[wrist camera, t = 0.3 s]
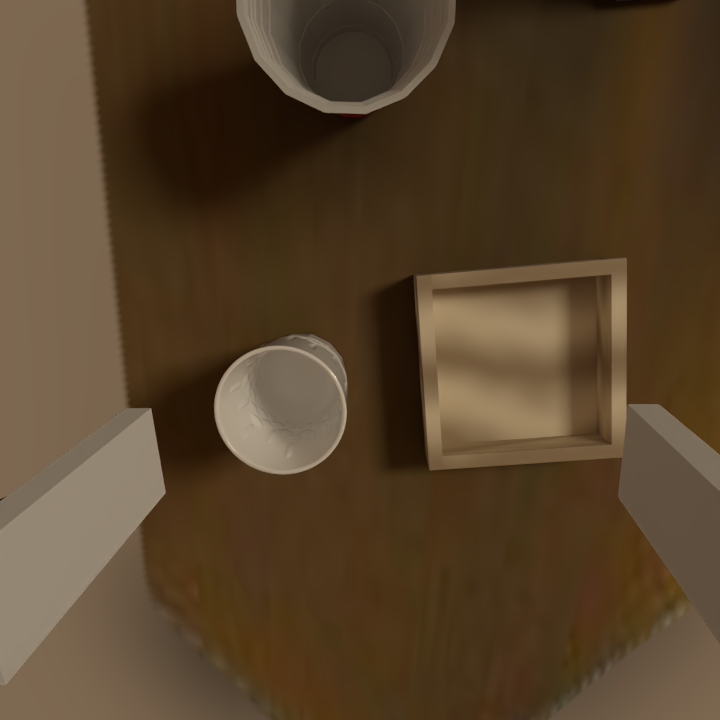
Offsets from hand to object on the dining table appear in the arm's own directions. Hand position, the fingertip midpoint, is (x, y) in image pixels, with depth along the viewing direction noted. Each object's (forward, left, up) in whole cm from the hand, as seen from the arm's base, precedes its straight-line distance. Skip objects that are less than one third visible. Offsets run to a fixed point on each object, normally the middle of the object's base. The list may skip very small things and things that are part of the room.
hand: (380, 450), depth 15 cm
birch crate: (+3, +10, -26) cm, 28 cm away
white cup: (+3, -6, -26) cm, 27 cm away
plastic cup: (-18, 0, -26) cm, 32 cm away
